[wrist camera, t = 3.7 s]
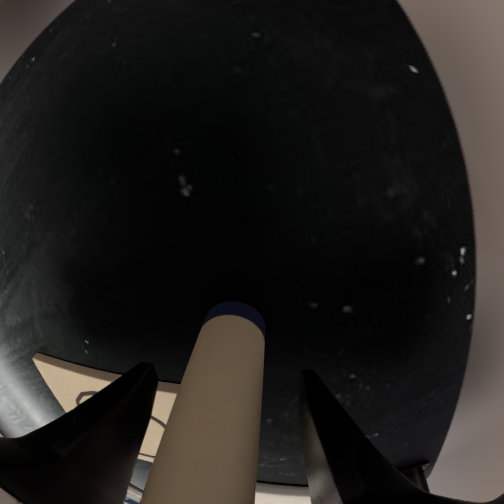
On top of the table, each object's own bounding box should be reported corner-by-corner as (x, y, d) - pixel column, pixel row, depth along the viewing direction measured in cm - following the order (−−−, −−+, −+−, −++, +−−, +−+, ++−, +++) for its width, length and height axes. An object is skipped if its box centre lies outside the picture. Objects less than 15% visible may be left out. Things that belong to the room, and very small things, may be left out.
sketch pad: (203, 385, 13) (199, 398, 12) (226, 466, 17) (225, 475, 16) (37, 351, 14) (30, 359, 13) (93, 437, 18) (90, 443, 17)
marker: (264, 300, 11) (242, 587, 1) (265, 349, 12) (249, 581, 2) (200, 300, 11) (100, 551, 2) (208, 348, 12) (148, 563, 3)
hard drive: (295, 504, 21) (191, 489, 20) (331, 485, 18) (206, 470, 17) (295, 515, 19) (189, 501, 19) (333, 498, 16) (203, 485, 16)
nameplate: (120, 479, 22) (101, 475, 23) (119, 481, 22) (101, 477, 23) (193, 514, 26) (172, 512, 27) (193, 516, 26) (171, 514, 27)
